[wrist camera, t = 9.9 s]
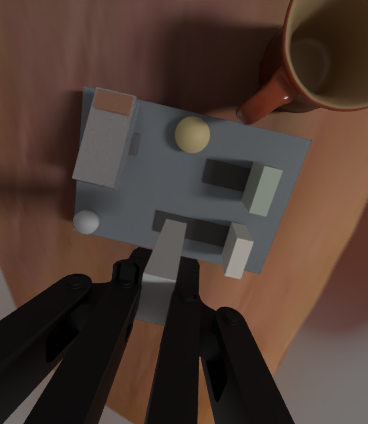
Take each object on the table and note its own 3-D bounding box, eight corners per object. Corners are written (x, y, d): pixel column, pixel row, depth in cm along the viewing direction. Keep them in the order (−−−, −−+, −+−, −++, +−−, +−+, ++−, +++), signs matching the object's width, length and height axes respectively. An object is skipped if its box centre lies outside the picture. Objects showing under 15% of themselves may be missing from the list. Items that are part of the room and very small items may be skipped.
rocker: (102, 97, 21) (95, 85, 19) (140, 106, 21) (136, 94, 19) (80, 181, 20) (70, 177, 19) (118, 190, 20) (112, 187, 19)
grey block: (253, 160, 22) (264, 166, 18) (268, 164, 22) (283, 170, 18) (241, 200, 23) (249, 212, 19) (255, 203, 23) (266, 216, 19)
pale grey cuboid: (231, 222, 24) (237, 237, 20) (245, 225, 24) (253, 241, 20) (221, 254, 25) (224, 275, 21) (234, 257, 25) (240, 279, 21)
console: (97, 92, 24) (75, 82, 20) (299, 139, 24) (319, 140, 20) (85, 220, 29) (66, 235, 25) (254, 260, 29) (263, 281, 25)
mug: (314, -4, 20) (416, -132, 11) (357, 82, 22) (477, 41, 13) (204, 87, 23) (206, 52, 14) (250, 158, 25) (281, 171, 15)
